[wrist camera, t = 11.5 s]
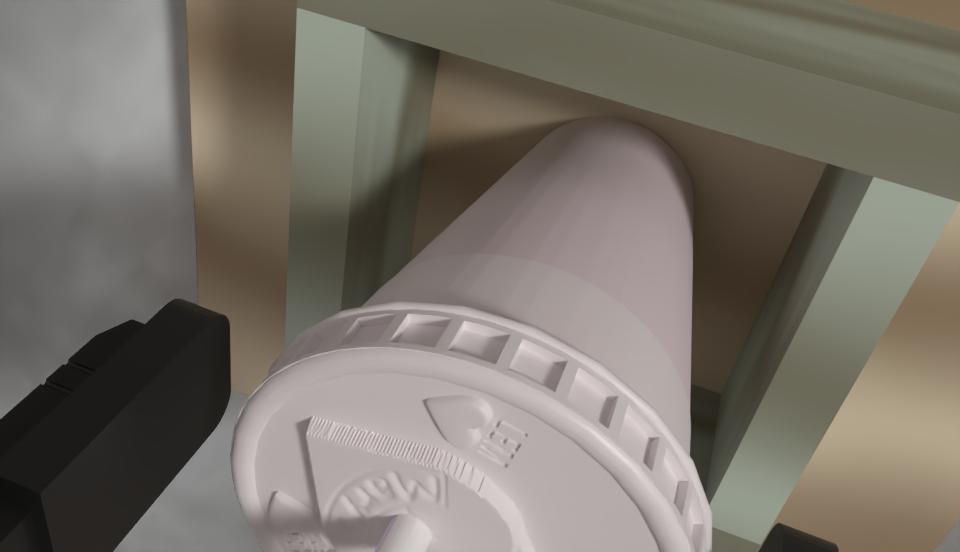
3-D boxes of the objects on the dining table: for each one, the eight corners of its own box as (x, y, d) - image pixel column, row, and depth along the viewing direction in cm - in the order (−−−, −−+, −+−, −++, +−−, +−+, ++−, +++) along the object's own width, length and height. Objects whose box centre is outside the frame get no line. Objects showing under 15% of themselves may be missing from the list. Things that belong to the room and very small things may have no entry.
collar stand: (215, -478, 16) (-22, -542, 11) (1472, -234, 12) (1820, -191, 8) (228, 348, 27) (115, 471, 23) (868, 586, 24) (876, 781, 20)
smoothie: (623, -18, 16) (161, 621, 5) (830, 231, 17) (813, 1169, 6) (409, 168, 20) (-121, 767, 9) (593, 362, 21) (325, 1093, 10)
